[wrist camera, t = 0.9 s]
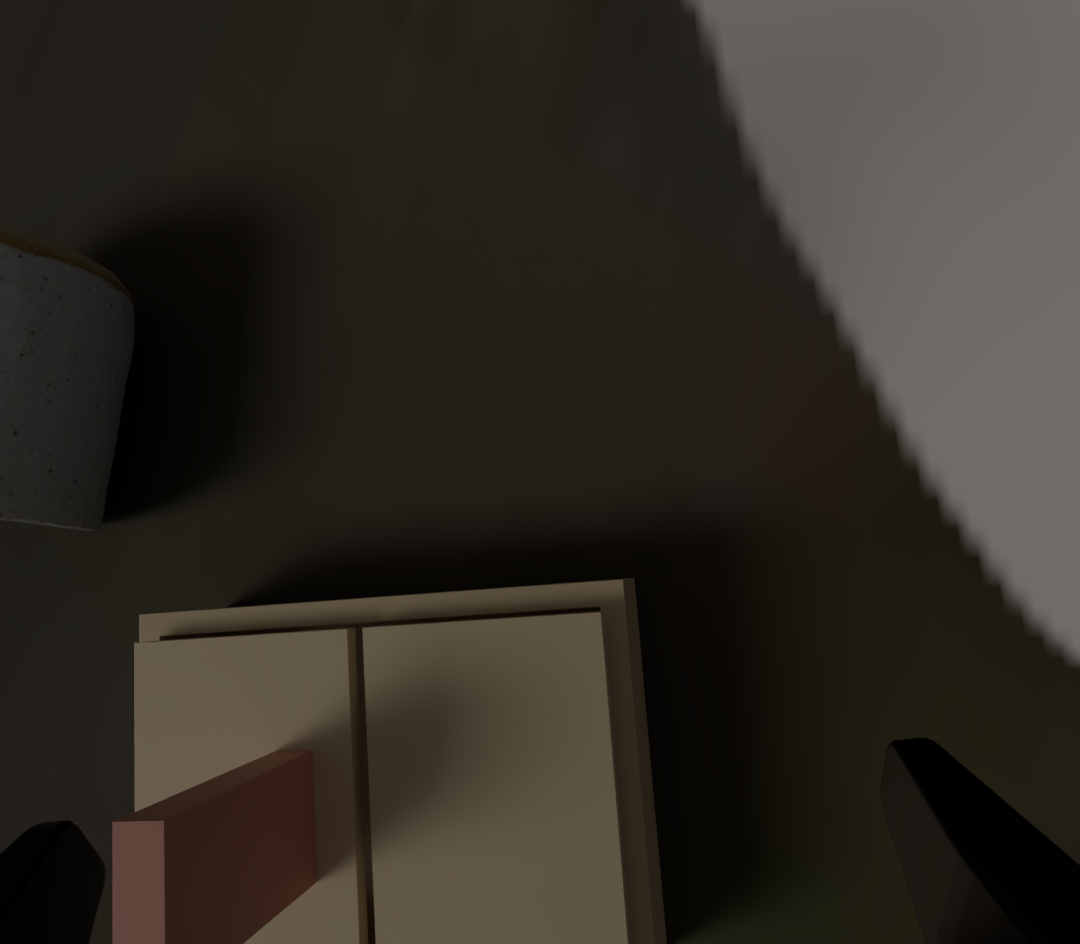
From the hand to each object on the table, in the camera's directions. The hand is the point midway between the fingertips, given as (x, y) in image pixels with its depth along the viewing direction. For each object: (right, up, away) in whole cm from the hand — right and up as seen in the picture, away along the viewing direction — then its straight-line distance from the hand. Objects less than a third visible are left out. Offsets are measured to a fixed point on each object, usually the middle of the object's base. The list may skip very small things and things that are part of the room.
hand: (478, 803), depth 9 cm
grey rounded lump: (-16, +6, +19) cm, 26 cm away
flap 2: (0, -4, +10) cm, 11 cm away
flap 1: (-6, -5, +11) cm, 14 cm away
